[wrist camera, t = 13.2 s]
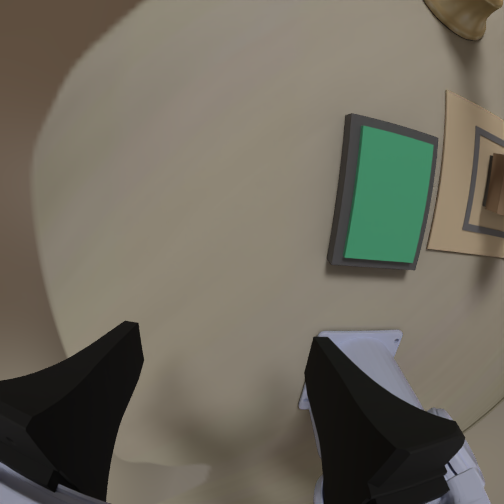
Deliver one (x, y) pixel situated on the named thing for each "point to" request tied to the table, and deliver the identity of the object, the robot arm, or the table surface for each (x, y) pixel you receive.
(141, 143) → the table surface
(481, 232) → the plate
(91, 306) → the table surface
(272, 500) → the table surface
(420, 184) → the ink pad
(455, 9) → the hand bell
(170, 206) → the table surface
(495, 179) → the stamp
